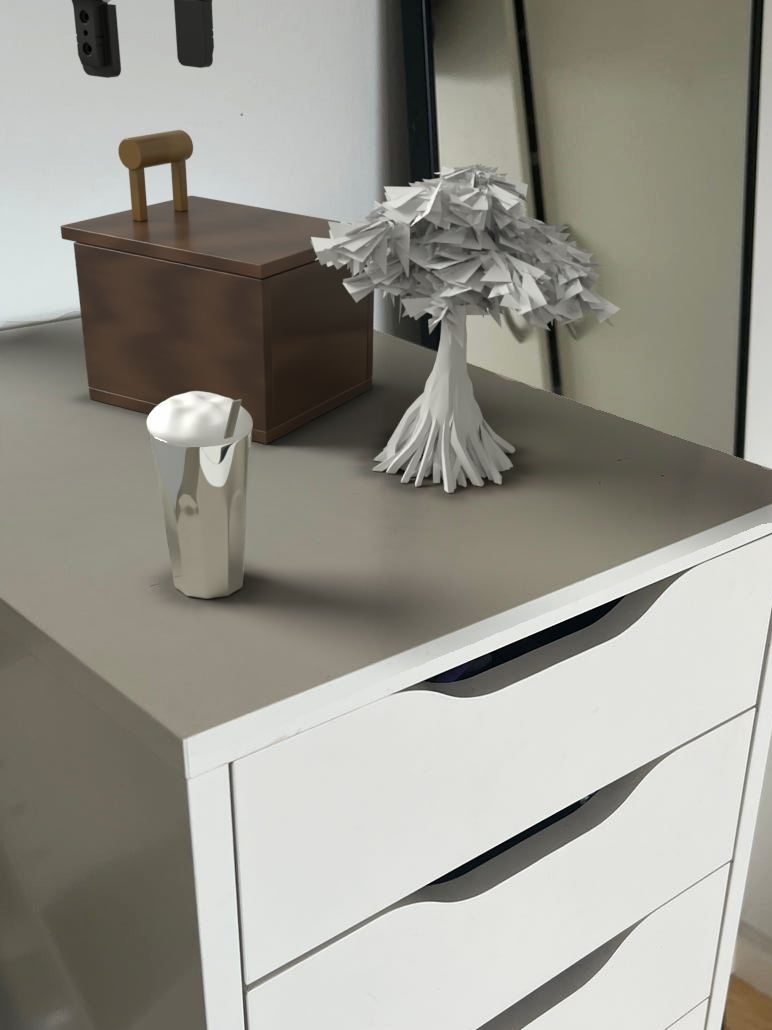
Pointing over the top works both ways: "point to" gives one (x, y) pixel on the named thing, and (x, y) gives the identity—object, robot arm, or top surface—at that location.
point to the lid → (198, 220)
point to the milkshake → (203, 488)
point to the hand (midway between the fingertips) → (150, 71)
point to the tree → (460, 300)
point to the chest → (223, 336)
